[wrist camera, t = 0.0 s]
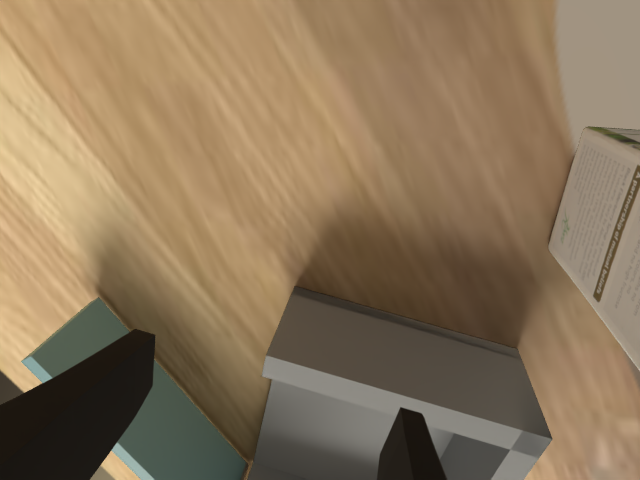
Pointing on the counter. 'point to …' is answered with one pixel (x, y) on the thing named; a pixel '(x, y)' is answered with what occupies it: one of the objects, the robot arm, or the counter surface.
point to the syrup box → (604, 230)
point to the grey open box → (390, 395)
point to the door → (144, 408)
